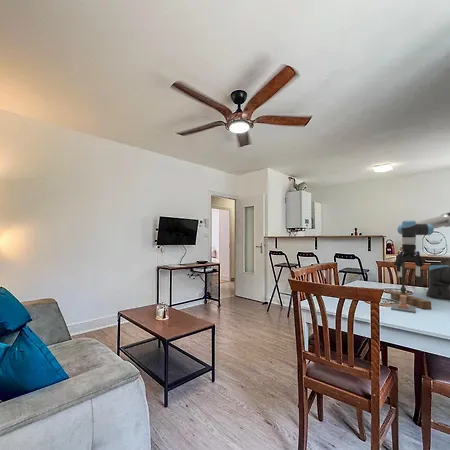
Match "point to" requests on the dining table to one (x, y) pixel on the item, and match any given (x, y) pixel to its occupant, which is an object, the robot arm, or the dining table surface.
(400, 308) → the fulcrum
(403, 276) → the candlestick holder
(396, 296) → the bar
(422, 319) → the dining table surface
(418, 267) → the robot arm
